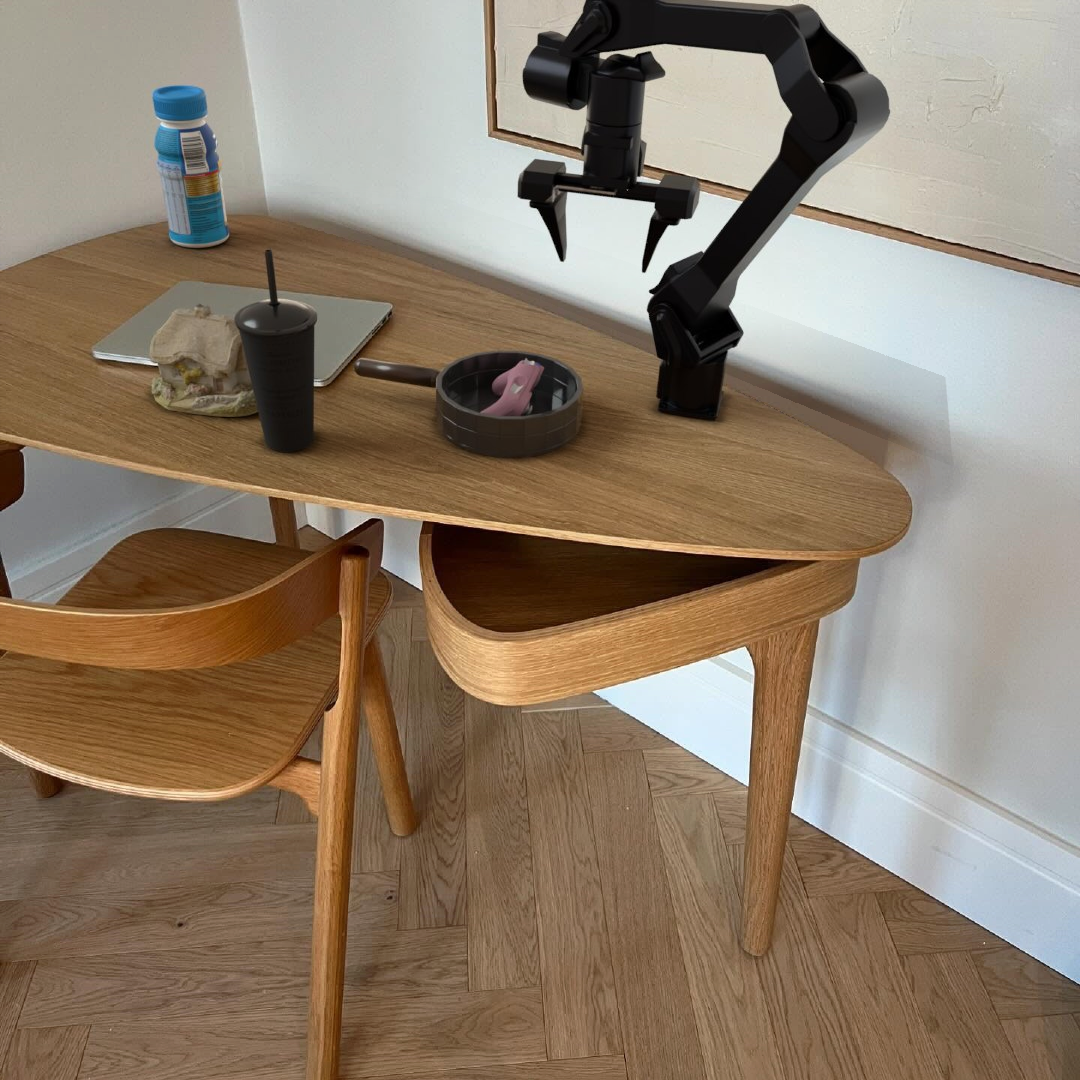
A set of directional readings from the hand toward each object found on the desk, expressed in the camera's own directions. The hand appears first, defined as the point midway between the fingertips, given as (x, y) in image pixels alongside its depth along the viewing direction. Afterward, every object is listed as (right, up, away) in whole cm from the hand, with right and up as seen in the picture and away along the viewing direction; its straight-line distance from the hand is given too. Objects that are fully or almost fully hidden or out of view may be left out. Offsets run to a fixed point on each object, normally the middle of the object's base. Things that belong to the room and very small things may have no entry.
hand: (603, 265), depth 121 cm
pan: (-10, -18, -4) cm, 21 cm away
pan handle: (-22, -13, -4) cm, 26 cm away
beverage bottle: (-55, +12, +35) cm, 66 cm away
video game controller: (-10, -17, -5) cm, 21 cm away
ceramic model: (-42, -14, -2) cm, 45 cm away
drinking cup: (-32, -20, -9) cm, 39 cm away
